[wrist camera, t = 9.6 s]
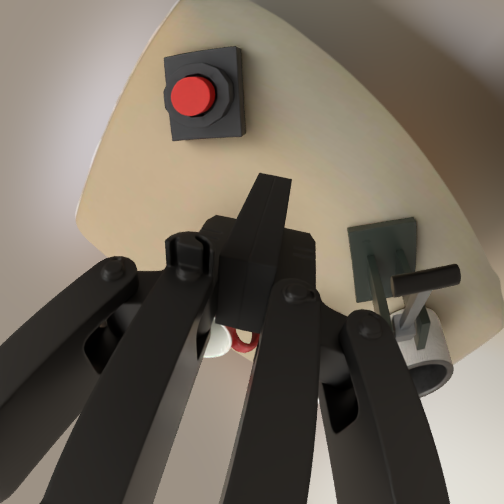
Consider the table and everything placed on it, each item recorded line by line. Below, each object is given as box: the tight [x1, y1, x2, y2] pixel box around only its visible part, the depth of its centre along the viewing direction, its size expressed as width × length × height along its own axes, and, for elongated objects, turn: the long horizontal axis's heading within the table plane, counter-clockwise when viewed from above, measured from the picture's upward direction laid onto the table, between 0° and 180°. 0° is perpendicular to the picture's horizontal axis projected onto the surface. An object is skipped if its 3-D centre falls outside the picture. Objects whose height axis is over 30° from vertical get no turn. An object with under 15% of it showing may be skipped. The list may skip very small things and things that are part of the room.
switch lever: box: [390, 264, 461, 342], centre depth 21 cm, size 14×5×2 cm, turn 18°
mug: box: [203, 317, 260, 358], centre depth 35 cm, size 13×9×14 cm
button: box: [171, 77, 215, 116], centre depth 23 cm, size 4×4×2 cm
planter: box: [390, 308, 453, 398], centre depth 37 cm, size 13×13×11 cm
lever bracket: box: [347, 217, 431, 350], centre depth 29 cm, size 12×9×14 cm
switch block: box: [164, 46, 246, 141], centre depth 25 cm, size 10×8×4 cm
